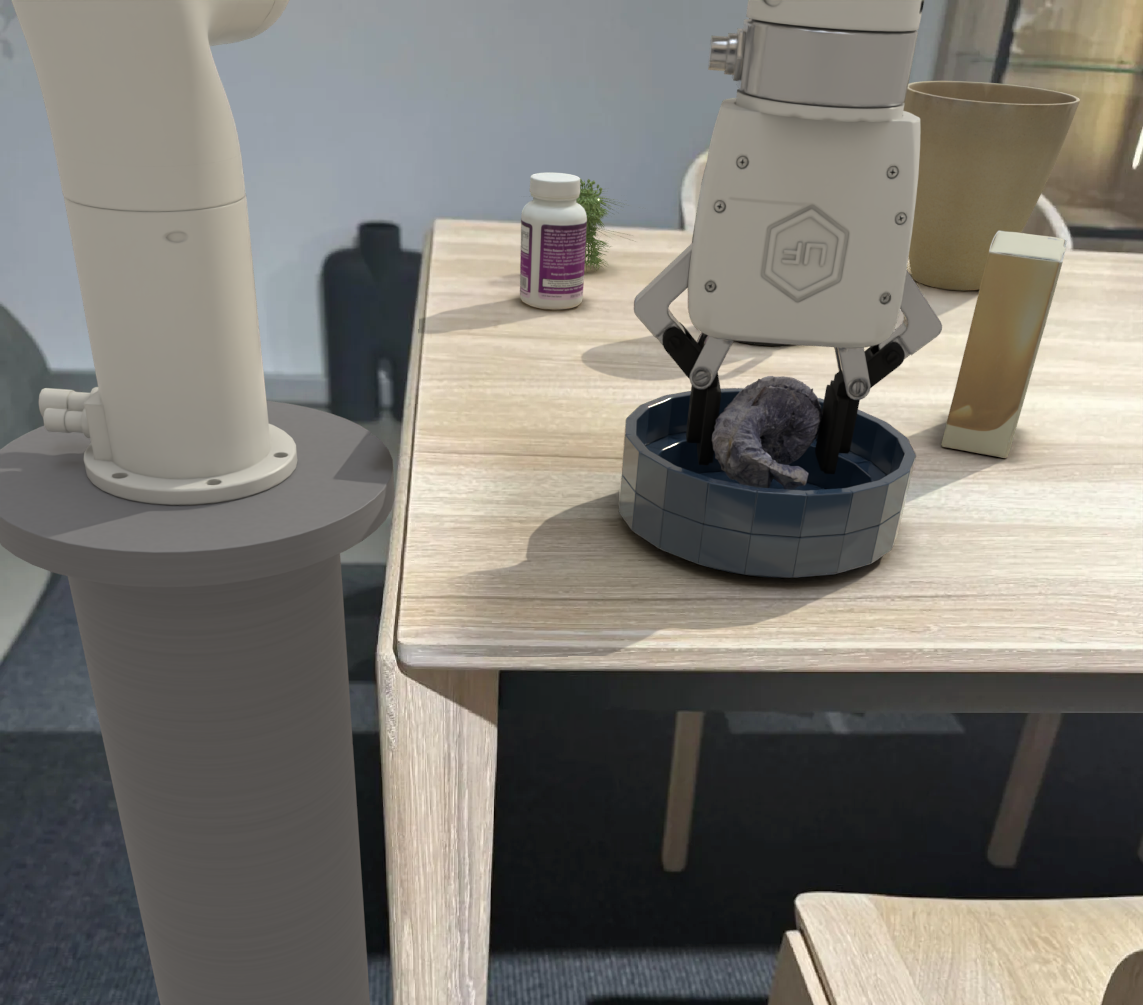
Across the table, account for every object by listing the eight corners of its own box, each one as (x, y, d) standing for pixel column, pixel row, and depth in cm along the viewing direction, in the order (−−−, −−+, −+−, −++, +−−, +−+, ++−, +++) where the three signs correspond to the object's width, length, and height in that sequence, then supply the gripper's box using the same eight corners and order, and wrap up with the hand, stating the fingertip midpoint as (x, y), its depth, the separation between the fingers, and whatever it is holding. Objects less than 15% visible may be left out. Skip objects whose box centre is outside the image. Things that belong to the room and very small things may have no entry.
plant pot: (920, 254, 122) (958, 76, 113) (1056, 286, 114) (1109, 97, 104) (839, 275, 113) (872, 83, 104) (980, 312, 105) (1030, 107, 96)
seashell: (764, 528, 60) (767, 462, 69) (845, 455, 58) (838, 395, 66) (689, 457, 59) (701, 397, 67) (768, 378, 56) (771, 326, 64)
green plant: (493, 257, 111) (495, 169, 107) (604, 249, 116) (610, 165, 112) (553, 290, 103) (557, 196, 99) (670, 280, 108) (678, 190, 104)
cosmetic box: (950, 418, 82) (997, 227, 74) (1015, 429, 80) (1069, 237, 73) (938, 449, 77) (987, 247, 70) (1007, 461, 76) (1064, 258, 68)
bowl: (615, 576, 60) (623, 482, 57) (620, 462, 72) (627, 379, 69) (918, 598, 59) (941, 504, 57) (870, 479, 72) (888, 398, 69)
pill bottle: (592, 300, 101) (600, 176, 95) (566, 314, 97) (572, 185, 91) (536, 290, 103) (540, 167, 97) (507, 304, 99) (510, 176, 93)
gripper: (630, 69, 50) (601, 476, 61) (1039, 96, 50) (939, 499, 60) (632, 52, 56) (605, 424, 67) (996, 76, 56) (912, 446, 67)
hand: (764, 457), depth 63 cm, fingers closed on seashell, 5 cm apart
